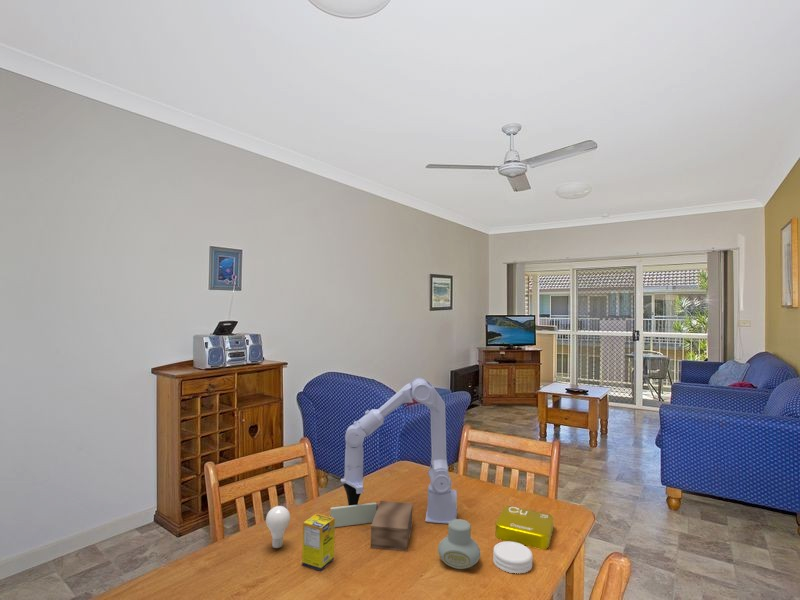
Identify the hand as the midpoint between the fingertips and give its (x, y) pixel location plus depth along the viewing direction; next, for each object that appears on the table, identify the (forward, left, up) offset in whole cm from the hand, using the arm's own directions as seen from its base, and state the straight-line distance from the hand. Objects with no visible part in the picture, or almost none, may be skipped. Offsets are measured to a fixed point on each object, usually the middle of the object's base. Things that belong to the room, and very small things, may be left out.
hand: (352, 507), depth 140 cm
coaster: (-47, +18, -3) cm, 50 cm away
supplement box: (+3, +26, -3) cm, 26 cm away
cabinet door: (-1, +4, -3) cm, 5 cm away
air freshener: (-33, +20, -3) cm, 38 cm away
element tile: (-52, +1, -4) cm, 53 cm away
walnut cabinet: (-14, +9, -3) cm, 17 cm away
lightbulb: (+16, +21, -3) cm, 26 cm away
